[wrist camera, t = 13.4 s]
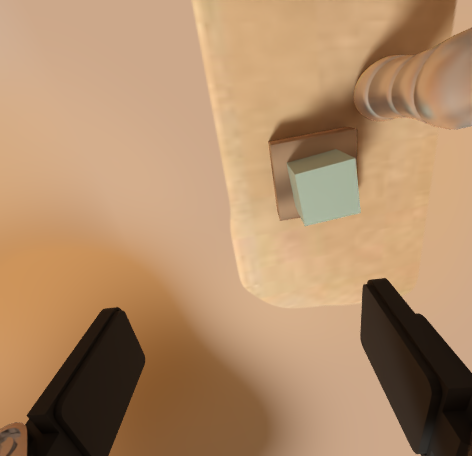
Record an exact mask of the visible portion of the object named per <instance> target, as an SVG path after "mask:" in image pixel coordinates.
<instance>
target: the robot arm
mask: <svg viewBox="0 0 472 456" xmlns="http://www.w3.org/2000/svg"><path fill="white" fill-rule="evenodd" d="M361 343H362V346H363V348H364V350H365V352H366V354H367V356H368V359H369V361H370V363H371V365H372V367H373V369H374V371H375V373H376V375H377V377H378V379H379V381H380V384H381V386H382V388H383V390H384V392H385V394H386V396H387V398H388V400H389V402H390V404H391V407H392V409H393V411H394V413H395V415H396V417H397V419H398V421H399V423H400V425H401V427H402V429H403V431H404V433H405V435H406V438H407V440H408V442H409V444H410V446H411V448H412V450H413V451H414V452H415V453H416V454H421V456H472V373H471V372H470V370H469V369H468V368H467V367H466V366H465V364H464V363H463V362H462V361H461V360H460V358H459V357H458V356H457V355H456V354H455V353H454V351H453V350H452V349H451V348H450V347H449V346H448V344H447V343H446V342H445V341H444V340H443V338H442V337H441V336H440V335H439V334H438V332H437V331H436V330H435V329H434V328H433V326H432V325H431V324H430V323H429V322H428V321H427V319H426V318H425V317H424V316H423V315H421V314H415V313H414V312H413V311H412V309H411V308H410V307H409V306H408V304H407V303H406V302H405V301H404V299H403V298H402V297H401V296H400V294H399V293H398V292H397V291H396V289H395V288H394V287H393V286H392V285H391V283H390V282H389V281H388V280H387V279H386V278H382V279H373V280H368V282H367V284H365V285H363V293H362V315H361ZM144 364H145V355H144V353H143V351H142V349H141V347H140V344H139V342H138V340H137V338H136V335H135V333H134V331H133V329H132V327H131V325H130V322H129V320H128V318H127V316H126V313H125V312H124V311H122V310H121V309H120V308H118V307H116V308H107V309H103V310H102V311H101V312H100V313H99V315H98V316H97V318H96V319H95V320H94V322H93V323H92V325H91V326H90V327H89V329H88V330H87V332H86V333H85V334H84V336H83V337H82V339H81V340H80V341H79V343H78V344H77V346H76V347H75V348H74V350H73V351H72V353H71V354H70V355H69V357H68V358H67V360H66V361H65V362H64V364H63V365H62V367H61V368H60V369H59V371H58V372H57V374H56V375H55V376H54V378H53V379H52V381H51V382H50V384H49V385H48V386H47V388H46V389H45V390H44V392H43V393H42V395H41V396H40V397H39V399H38V400H37V402H36V403H35V404H34V406H33V407H32V409H31V410H30V411H29V413H28V414H27V417H28V418H29V420H28V421H27V423H26V424H25V425H24V424H23V423H17V422H16V423H12V424H9V425H7V426H5V427H3V428H1V429H0V456H108V455H109V453H110V450H111V448H112V445H113V442H114V440H115V438H116V435H117V433H118V430H119V428H120V425H121V423H122V420H123V417H124V415H125V412H126V410H127V407H128V405H129V402H130V400H131V397H132V395H133V392H134V390H135V387H136V385H137V382H138V380H139V377H140V375H141V372H142V369H143V367H144Z"/></svg>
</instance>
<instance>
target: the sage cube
mask: <svg viewBox="0 0 472 456" xmlns="http://www.w3.org/2000/svg"><path fill="white" fill-rule="evenodd" d="M287 168H288V173H289V177H290V182H291V187H292V192H293V197H294V202H295V206H296V209H297V211H298V213H299V215H300V217H301V219H302V221H303V223H304V225H305V226H308V225H312V224H316V223H321V222H325V221H329V220H333V219H337V218H341V217H346V216H350V215H354V214H358V213H361V211H360V200H359V190H358V180H357V169H356V159H355V158H354V157H352V156H350V155H348V154H346V153H343V152H341V151H339V150H337V149H335V150H331V151H327V152H324V153H320V154H317V155H313V156H310V157H306V158H302V159H299V160H295V161H292V162H288V163H287Z"/></svg>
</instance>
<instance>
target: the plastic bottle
mask: <svg viewBox="0 0 472 456" xmlns="http://www.w3.org/2000/svg"><path fill="white" fill-rule="evenodd" d="M354 103H355V106H356V108H357V110H358V111H359V113H361V114H362V115H363V116H365V117H366V118H368V119H370V120H374V121H386V120H391V119H395V118H402V117H407V118H412V119H417V120H420V121H422V122H425V123H427V124H430V125H432V126H436V127H440V128H445V129H461V128H466V127H470V126H472V28H470V29H468V30H465V31H463V32H461V33H459V34H456V35H454V36H453V37H451V38H449V39H447V40H445V41H444V42H442V43H440V44H438V45H436V46H435V47H433V48H431V49H428V50H426V51H424V52H421V53H418V54H413V55H391V56H387V57H384V58H382V59H379V60H378V61H376V62H375V63H373V64H372V65H371V66H370V67H368V68H367V69H366V70H365V71H364V72H363V74H362V75H361V76H360V78H359V79H358V81H357V84H356V86H355V90H354Z"/></svg>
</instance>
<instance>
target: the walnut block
mask: <svg viewBox="0 0 472 456" xmlns="http://www.w3.org/2000/svg"><path fill="white" fill-rule="evenodd" d="M268 143H269V150H270V158H271V166H272V173H273V181H274V189H275V196H276V204H277V211H278V215H279V218H280V221H282V220H288V219H295V218H301V217H300V215H299V213H298V211H297V209H296V206H295V202H294V197H293V192H292V187H291V182H290V177H289V173H288V168H287V163H288V162H292V161H295V160H299V159H302V158H306V157H310V156H313V155H317V154H320V153H324V152H327V151H331V150H335V149H337V150H339V151H341V152H343V153H346V154H348V155H350V156H352V157H354V158H355V159H356V169H357V129H355V128H350V127H342V128H337V129H332V130H327V131H321V132H316V133H311V134H306V135H301V136H295V137H290V138H285V139H280V140H274V141H269V142H268Z"/></svg>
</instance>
